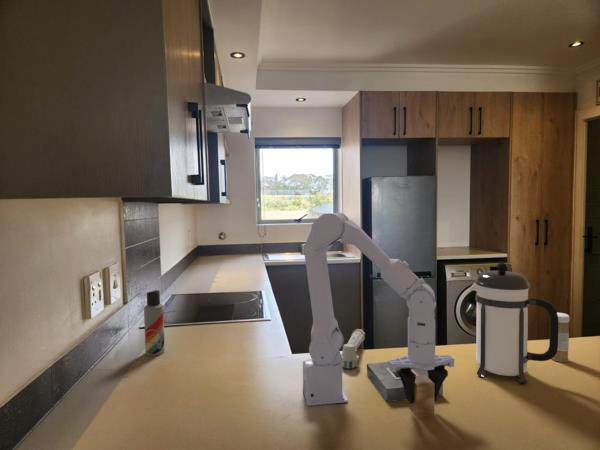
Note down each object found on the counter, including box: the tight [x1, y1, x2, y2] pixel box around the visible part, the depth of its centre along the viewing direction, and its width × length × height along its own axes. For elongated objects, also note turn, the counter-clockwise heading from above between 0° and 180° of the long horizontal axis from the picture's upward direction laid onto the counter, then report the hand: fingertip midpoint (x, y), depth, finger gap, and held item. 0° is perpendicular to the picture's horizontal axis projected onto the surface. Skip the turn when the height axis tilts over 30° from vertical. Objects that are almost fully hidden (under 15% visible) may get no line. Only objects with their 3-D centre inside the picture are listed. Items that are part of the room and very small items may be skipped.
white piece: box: [340, 328, 366, 369], centre depth 113 cm, size 5×7×25 cm
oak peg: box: [408, 375, 435, 418], centre depth 81 cm, size 4×4×7 cm
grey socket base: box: [366, 361, 444, 402], centre depth 93 cm, size 14×14×3 cm
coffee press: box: [469, 262, 558, 386], centre depth 97 cm, size 17×16×30 cm
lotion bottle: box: [143, 289, 166, 357], centre depth 116 cm, size 6×6×20 cm
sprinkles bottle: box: [551, 311, 571, 363], centre depth 106 cm, size 5×5×14 cm
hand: (421, 400), depth 81 cm, fingers open, 5 cm apart
